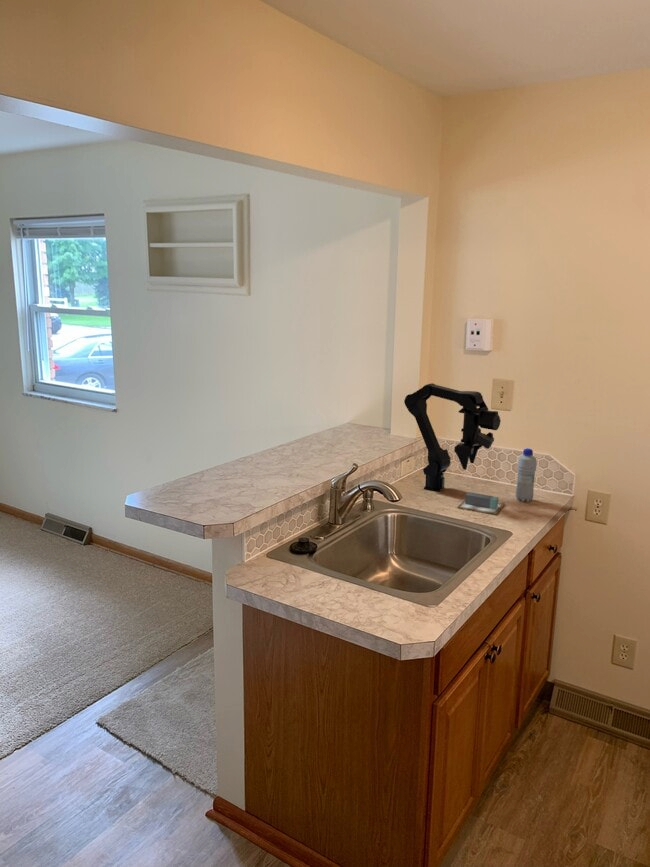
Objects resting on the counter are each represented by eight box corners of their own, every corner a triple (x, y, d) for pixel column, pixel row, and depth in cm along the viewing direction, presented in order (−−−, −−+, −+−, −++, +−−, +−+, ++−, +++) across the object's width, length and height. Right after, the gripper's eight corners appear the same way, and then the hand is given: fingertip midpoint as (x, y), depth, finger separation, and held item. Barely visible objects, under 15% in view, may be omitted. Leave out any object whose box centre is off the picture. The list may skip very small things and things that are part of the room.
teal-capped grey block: (465, 503, 244) (465, 494, 243) (468, 501, 247) (468, 492, 246) (495, 509, 238) (495, 500, 238) (497, 506, 241) (498, 497, 241)
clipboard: (457, 508, 241) (457, 505, 241) (467, 498, 251) (467, 495, 251) (496, 515, 234) (496, 512, 234) (504, 505, 245) (504, 502, 244)
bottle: (512, 501, 248) (517, 449, 244) (516, 496, 254) (521, 445, 249) (531, 504, 245) (536, 452, 241) (534, 499, 251) (539, 447, 246)
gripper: (485, 433, 235) (482, 476, 239) (499, 423, 251) (496, 463, 254) (455, 430, 240) (452, 471, 244) (470, 420, 256) (467, 459, 260)
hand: (468, 466), depth 250 cm, fingers open, 9 cm apart
